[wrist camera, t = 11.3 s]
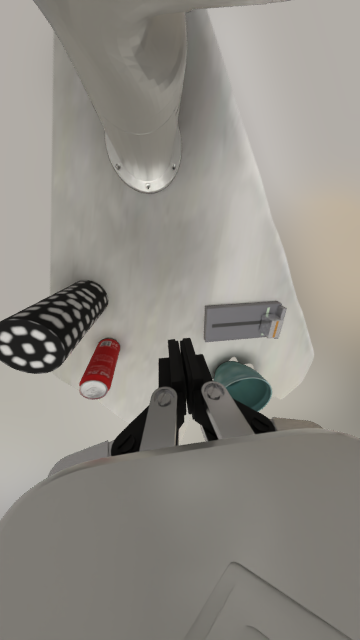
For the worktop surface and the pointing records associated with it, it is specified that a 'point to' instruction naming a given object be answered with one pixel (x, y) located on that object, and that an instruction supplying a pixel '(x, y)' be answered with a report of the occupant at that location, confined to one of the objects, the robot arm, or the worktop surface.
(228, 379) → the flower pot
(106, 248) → the worktop surface
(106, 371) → the beverage can
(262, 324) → the fader knob
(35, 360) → the white-spotted black cylinder
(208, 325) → the fader console
